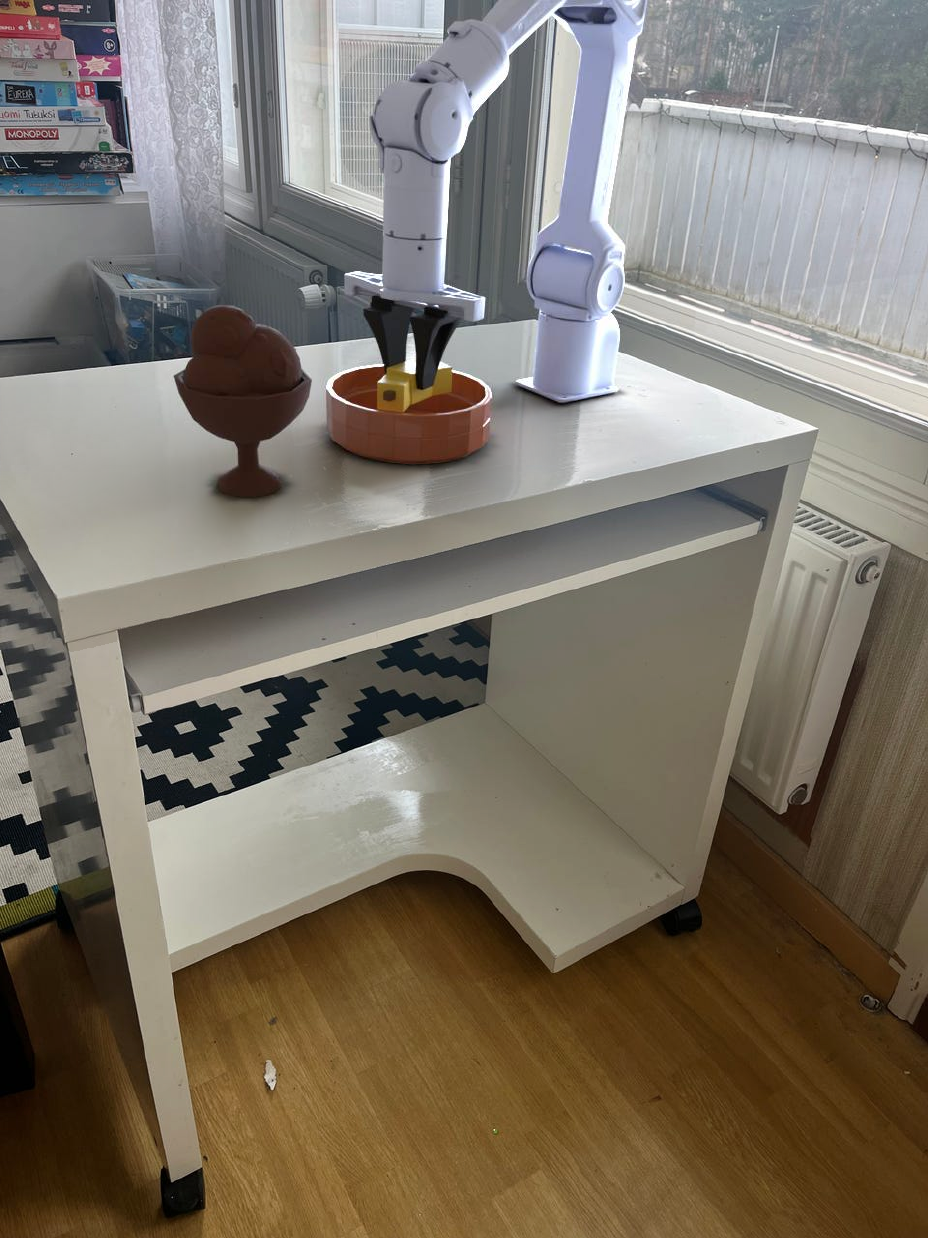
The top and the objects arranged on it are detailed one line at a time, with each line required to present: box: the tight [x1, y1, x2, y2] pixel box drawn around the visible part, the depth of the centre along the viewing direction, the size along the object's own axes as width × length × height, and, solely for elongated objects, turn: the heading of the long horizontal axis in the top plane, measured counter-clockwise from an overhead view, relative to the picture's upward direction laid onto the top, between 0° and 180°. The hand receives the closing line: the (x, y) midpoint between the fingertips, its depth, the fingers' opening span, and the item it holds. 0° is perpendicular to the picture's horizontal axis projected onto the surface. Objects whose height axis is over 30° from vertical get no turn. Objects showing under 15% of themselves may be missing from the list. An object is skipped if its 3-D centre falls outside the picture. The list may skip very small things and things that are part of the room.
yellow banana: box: [377, 360, 453, 413], centre depth 92 cm, size 10×4×3 cm, turn 148°
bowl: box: [325, 364, 493, 465], centre depth 94 cm, size 16×16×5 cm
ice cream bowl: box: [173, 304, 313, 498], centre depth 79 cm, size 11×11×15 cm
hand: (409, 383), depth 92 cm, fingers closed on yellow banana, 3 cm apart
